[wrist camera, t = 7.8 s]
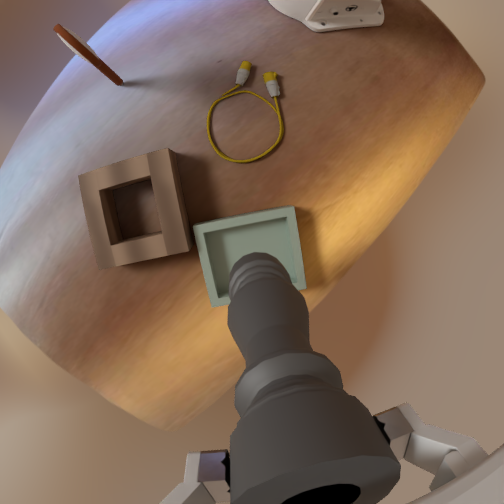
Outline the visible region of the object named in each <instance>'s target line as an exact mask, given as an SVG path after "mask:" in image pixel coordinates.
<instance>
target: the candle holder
mask: <svg viewBox="0 0 504 504" xmlns="http://www.w3.org/2000/svg"><path fill="white" fill-rule="evenodd" d="M228 295H229V298H230V300H231V302H230V304H229V306H228V327H229V329H230V332H231V334H232V336H233V338H234V340H235V342H236V344H237V346H238V347H239V349H240V351H241V353H242V355H243V357H244V358H245V360H246V369H245V370H244V372H243V374H242V375H241V377H240V379H239V380H238V382H237V384H236V386H235V408H236V410H237V411H238V413H239V415H240V417H241V419H240V420H239V421H238V423H237V427H236V429H235V430H234V431H233V433H232V434H231V436H230V504H376V503H378V502H379V501H380V500H382V499H383V498H384V497H385V496H387V495H388V494H389V493H390V491H391V490H392V489H393V487H394V486H395V485H396V483H397V482H398V481H399V479H400V469H401V465H400V463H399V462H398V460H397V458H396V456H395V455H394V453H393V451H392V449H391V448H390V446H389V444H388V442H387V441H386V439H385V437H384V436H383V434H382V432H381V430H380V429H379V427H378V425H377V424H376V422H375V420H374V418H373V417H372V415H371V414H370V412H369V410H368V409H367V408H366V407H365V406H364V405H363V404H362V403H361V402H360V401H359V400H358V399H357V398H356V397H355V396H351V395H348V394H347V393H346V392H345V391H344V390H343V383H342V379H341V374H340V371H339V370H338V368H337V367H336V366H335V365H334V364H333V363H332V362H331V361H330V360H329V359H328V358H327V357H326V356H325V355H323V354H320V353H317V352H315V351H313V349H312V348H311V345H310V342H309V312H308V308H307V305H306V302H305V298H304V297H303V295H302V294H301V293H300V292H299V291H298V290H297V289H296V287H295V286H294V285H293V284H292V282H291V278H290V275H289V273H288V272H287V270H286V269H285V267H284V266H283V265H282V263H281V262H280V261H279V260H278V259H277V258H276V257H274V256H272V255H270V254H268V253H263V252H253V253H250V254H247V255H244V256H242V257H241V258H240V259H239V260H238V261H237V262H236V263H234V265H233V267H232V270H231V272H230V274H229V294H228Z"/></svg>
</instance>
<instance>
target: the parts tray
mask: <svg viewBox="0 0 504 504" xmlns="http://www.w3.org/2000/svg"><path fill="white" fill-rule="evenodd" d="M193 230H194V234H195V239H196V243H197V248H198V252H199V256H200V261H201V265H202V269H203V273H204V278H205V282H206V286H207V290H208V294H209V298H210V302H211V306H212V307H218V306H223V305H228V304H230V302H231V300H230V298H229V295H228V294H229V274H230V272H231V270H232V267H233V265H234V263H236V262H237V261H238V260H239V259H240V258H241V257H242V256H244V255H247V254H250V253H253V252H263V253H268V254H270V255H272V256H274V257H276V258H277V259H278V260H279V261H280V262H281V263H282V265H283V266H284V267H285V269H286V270H287V272H288V273H289V275H290V278H291V282H292V284H293V285H294V286H295V287H296V289H297V290H302V289H307V287H306V280H305V273H304V266H303V259H302V252H301V246H300V239H299V233H298V227H297V221H296V215H295V209H294V206H291V205H287V206H281V207H276V208H271V209H265V210H260V211H255V212H249V213H244V214H239V215H234V216H229V217H224V218H219V219H214V220H210V221H205V222H200V223H196V224H195V225H194V226H193Z"/></svg>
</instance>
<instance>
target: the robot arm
mask: <svg viewBox="0 0 504 504" xmlns="http://www.w3.org/2000/svg"><path fill="white" fill-rule="evenodd" d="M268 1H269V3H270V4H271V5H272V6H273V7H274V8H276V9H277V10H278V11H280V12H281V13H283V14H285V15H287V16H289V17H291V18H294V19H296V20H299V21H301V22H302V23H304V24H305V25H306V26H307V27H308V28H310V29H311V30H313V31H315V32H324V31H331V30H339V29H347V28H357V27H369V26H381V25H382V23H383V21H384V10H383V7H382V4H381V0H268ZM321 24H323V25H324V26H323V25H321ZM373 418H374V420H375V422H376V424H377V425H378V427H379V429H380V430H381V432H382V434H383V436H384V437H385V439H386V441H387V442H388V444H389V446H390V448H391V449H392V451H393V453H394V455H395V456H396V458H397V460H401V459H403V458H404V459H405V460H406V461H408V462H410V463H412V464H414V465H416V466H418V467H420V468H422V469H424V470H426V471H428V472H430V473H432V474H434V475H435V477H434V479H433V481H432V483H431V485H430V487H429V488H430V490H431V492H430V493H428V494H426V495H424V496H422V497H420V498H418V499H416V500H414V501H412V502H410V503H407V504H504V444H503V445H502V446H500V447H499V448H498V449H496V450H495V451H494V452H492V453H491V454H490V455H488V454H487V453H486V452H485V451H484V450H483V448H482V447H481V446H480V445H479V444H478V442H477V441H476V440H475V439H474V438H473V437H469V436H466V435H462V434H459V433H455V432H452V431H449V430H446V429H442V428H439V427H436V426H433V425H430V424H428V425H425V424H424V422H423V421H422V420H421V418H420V417H419V416H418V414H417V413H416V412H415V411H414V409H413V408H412V407H411V405H410V404H409V403H407V402H406V403H403V404H401V405H399V406H396V407H393V408H391V409H388V410H385V411H383V412H380V413H378V414H375V415H373ZM229 501H230V458H229V452H228V450H227V449H225V450H211V451H193V452H189V453H188V455H187V461H186V468H185V476H184V483H179V485H177V486H176V487H175V488H174V490H173V491H172V492H170V493H169V494H168V495H167V496H166V497H165V498H164V499H163V500H162V501H161V502H160V503H159V504H216V503H219V502H229Z"/></svg>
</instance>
